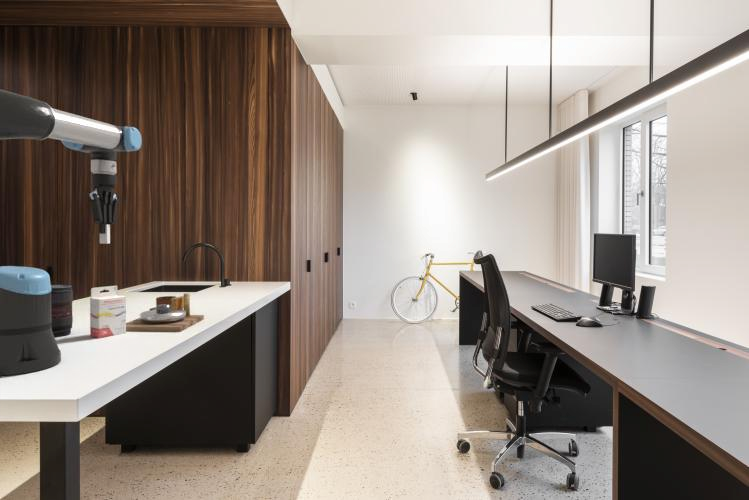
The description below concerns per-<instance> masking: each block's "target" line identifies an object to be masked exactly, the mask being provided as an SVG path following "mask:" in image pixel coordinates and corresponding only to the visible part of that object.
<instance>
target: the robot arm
mask: <svg viewBox="0 0 749 500" xmlns="http://www.w3.org/2000/svg"><path fill="white" fill-rule="evenodd" d="M14 139H15V140H19V139H23V140H24V139H26V140H27V139H29V140H37V141H43V140H46V139H53V140H59V141H61V143H62V145H63V146H64V147H66V148H67V149H71V150H74V151H79V152H82V153H87V154H90V172H91V175H90V176H91V177H90V183H91V185H92V186H93V189H92V192H88V193H87V198H88V199H89V202H90V209H91V214H92V218H93V222H94V223H95V224H96V225H98V234H99V244H103V245H104V244H106V245H107V244H111V225H114V223H116V218H117V211H118V205H119V201H120V199H121V196H120V195H116V191H115V187H116V186H118V179H117V178H118V176H117V175H116V174H118V173H117V169H118V168H117V152H127V153H130V152H137V151H139V150H140V149H141V148H142V142H143V140H142V134H141V132H140V131H139V129H137V128H136V127H134V126H127V125H125V126H118V125H115V124H110V123H108V122H104V121H100V120H95V119H93V118H88V117H85V116H83V115H78V114H75V113H70V112H68V111H63V110H59V109H57V108H52V107H51V106H50V105H49V104H48V103H47V102H45V101H42V100H39V99H36V98H34V97H33V98H32V97H31V96H26V95H22V94H19V93H15V92H12V91H8V90H3V89H0V140H1V141H2V140H14ZM51 285H52V284H51V277H50V274H49V273H48V272H47V271H46V270H44V269H41V268H37V267H32V266H31V267H29V266H18V265H17V266H16V265H7V266H6V265H2V266H0V376H11V375H14V376H15V375H21V374H27V373H33V372H37V371H42V370H45V369H48V368H52V367H53V366H54V367H55V366H56V365H58V364H60V363H61V362H62V352H61V349H60V348H59V346H58V343H57V340H56V337H54V335H53V333H52V327H51V290H52V288H51Z"/></svg>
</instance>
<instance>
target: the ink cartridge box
mask: <svg viewBox="0 0 749 500" xmlns="http://www.w3.org/2000/svg"><path fill="white" fill-rule="evenodd" d="M104 290H105V292H103V291H104ZM106 291H107V292H106ZM89 299H90V300H89V312H90V313H89V319H90V320H89V321H90V322H89V323H90V325H89V326H90V327H89V329H90V331H89V333H90V334H89V335H90V337H94V338H98V339H101V338H107V337H111V336H112V337H113V336H117V335H122V334H123V335H124V334H126V333H127V331H126V323H127V296H126V295H118V285H109V286H99V287H92V288H91V289H90V297H89Z"/></svg>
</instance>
